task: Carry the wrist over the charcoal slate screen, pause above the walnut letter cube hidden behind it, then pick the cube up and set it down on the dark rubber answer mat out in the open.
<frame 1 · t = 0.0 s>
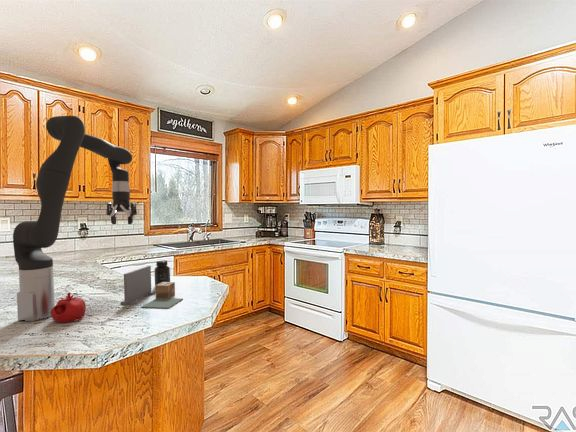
hand: (122, 224, 151), 29 cm above the table, fingers open, 8 cm apart
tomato: (69, 320, 105), on the table
screen: (138, 298, 127), on the table
answer mat: (162, 303, 120), on the table
supplement bottle: (162, 286, 146), on the table
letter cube: (165, 296, 130), on the table
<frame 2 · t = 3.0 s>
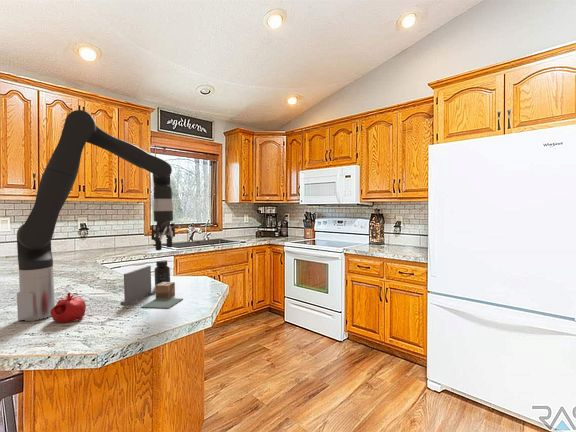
hand: (164, 248, 129), 20 cm above the table, fingers open, 8 cm apart
nothing on the table moved.
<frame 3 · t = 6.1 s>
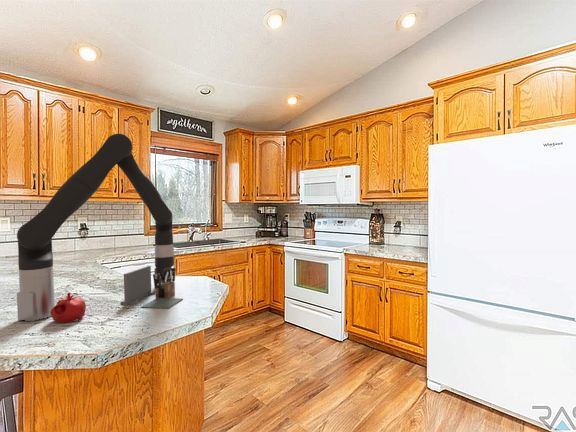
hand: (165, 295, 130), 1 cm above the table, fingers closed on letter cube, 5 cm apart
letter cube: (165, 296, 130), on the table, touching gripper
everything else where it was.
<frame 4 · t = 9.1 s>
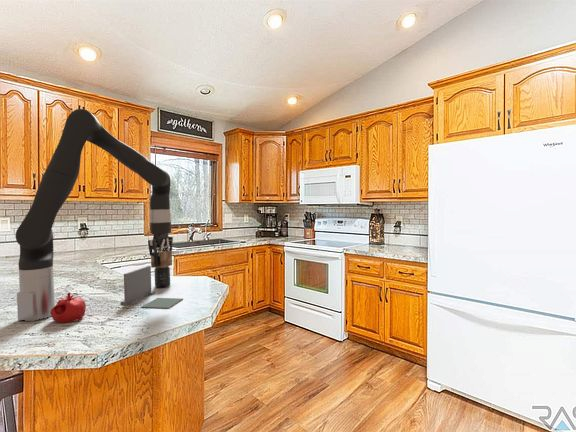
hand: (161, 264, 120), 15 cm above the table, fingers closed on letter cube, 5 cm apart
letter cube: (161, 266, 120), point 15 cm above the table, touching gripper
everything else where it was.
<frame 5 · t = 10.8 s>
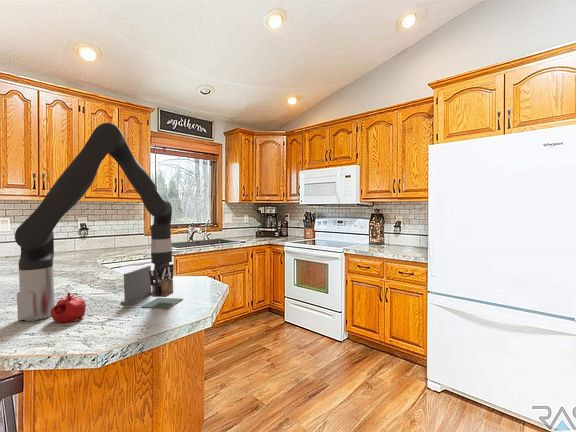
hand: (162, 293, 120), 4 cm above the table, fingers closed on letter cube, 5 cm apart
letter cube: (163, 294, 120), point 3 cm above the table, touching gripper
everything else where it was.
when the fingers open (2 cm above the table, at t = 12.2 s): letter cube drops 1 cm, resting on answer mat.
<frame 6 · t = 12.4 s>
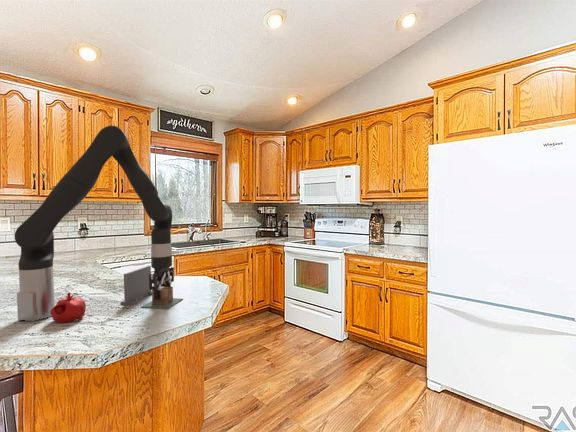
hand: (162, 296, 120), 3 cm above the table, fingers open, 7 cm apart
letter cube: (162, 302, 120), resting on answer mat
everything else where it was.
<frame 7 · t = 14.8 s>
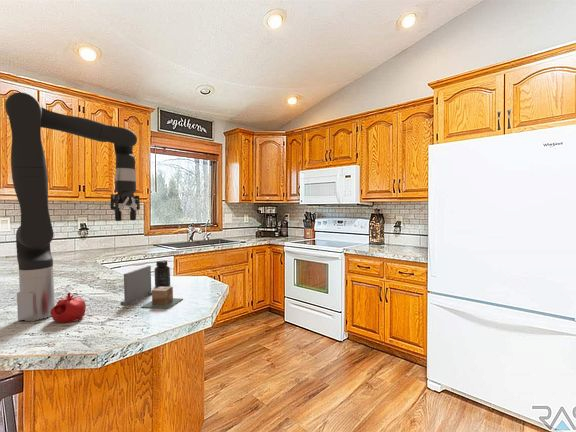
hand: (126, 220, 125), 32 cm above the table, fingers open, 8 cm apart
nothing on the table moved.
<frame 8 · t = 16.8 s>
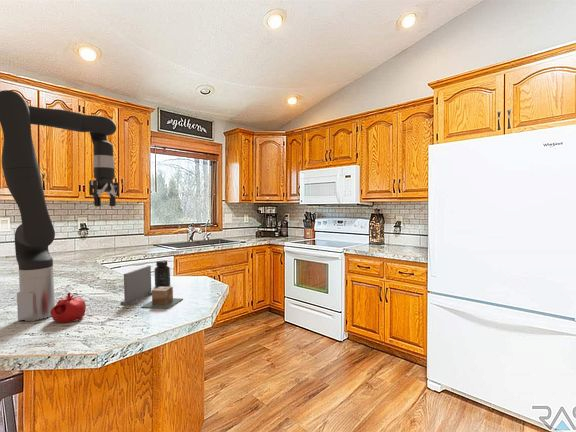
hand: (105, 206, 129), 38 cm above the table, fingers open, 8 cm apart
nothing on the table moved.
at the end: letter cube inside the target area (0.0 cm from its centre), resting on answer mat; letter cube tilted 0°; the gripper is holding nothing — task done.
